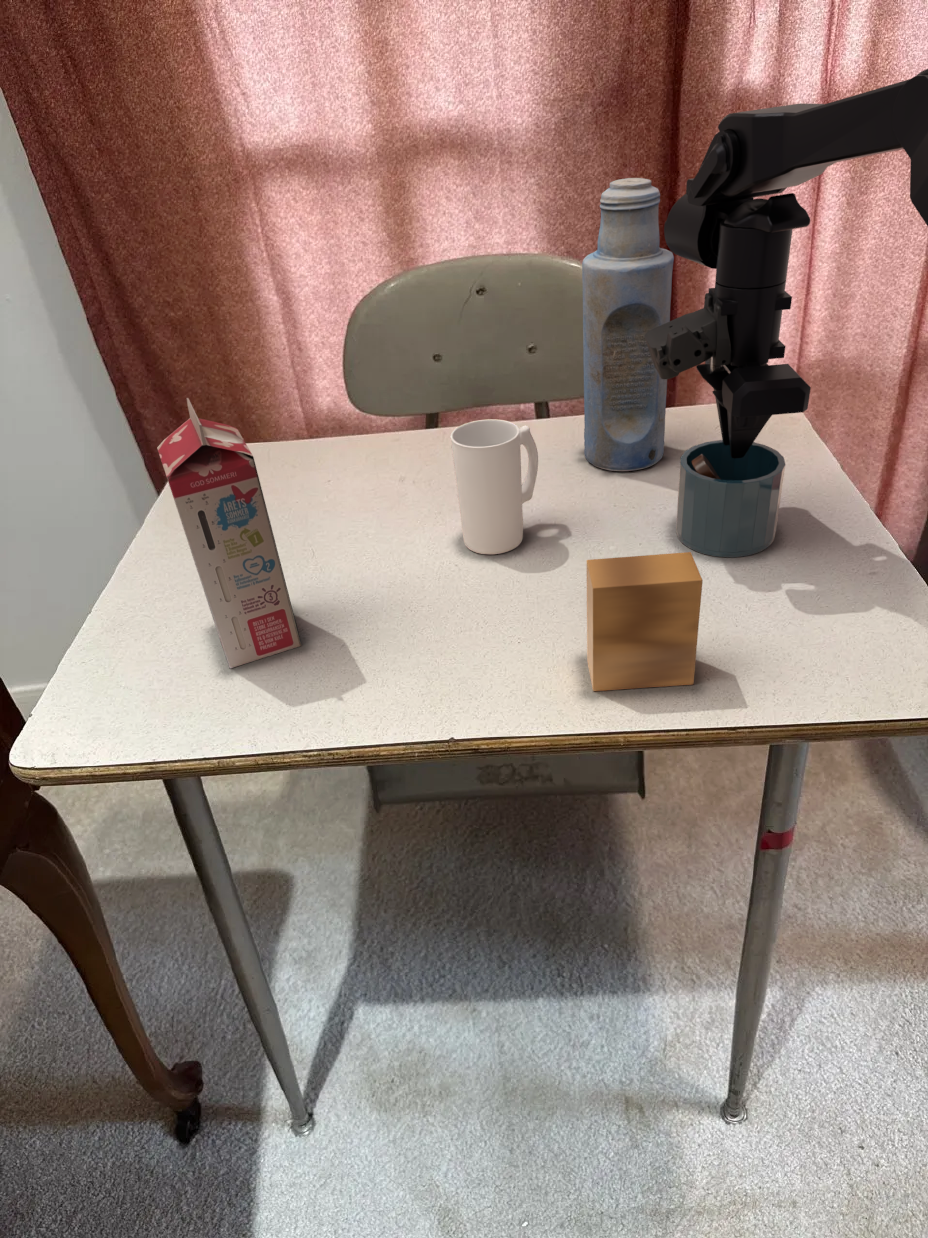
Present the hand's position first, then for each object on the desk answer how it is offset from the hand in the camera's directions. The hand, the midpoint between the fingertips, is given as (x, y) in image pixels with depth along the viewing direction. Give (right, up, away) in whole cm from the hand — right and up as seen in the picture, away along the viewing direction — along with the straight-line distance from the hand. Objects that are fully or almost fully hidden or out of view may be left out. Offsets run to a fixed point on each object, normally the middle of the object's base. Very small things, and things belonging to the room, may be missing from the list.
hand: (733, 450), depth 80 cm
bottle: (-6, +4, +22) cm, 23 cm away
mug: (-21, -7, +9) cm, 24 cm away
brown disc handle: (-1, -3, +2) cm, 4 cm away
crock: (+1, -7, +5) cm, 9 cm away
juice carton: (-45, -18, -2) cm, 48 cm away
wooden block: (-11, -20, -11) cm, 26 cm away
